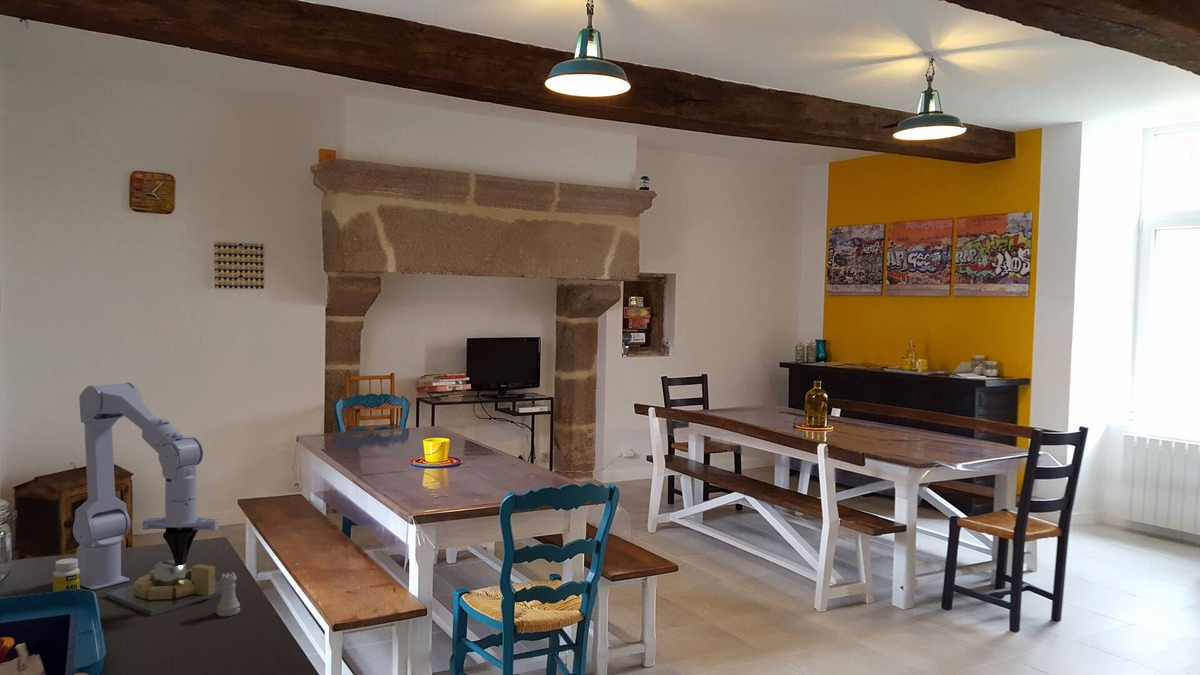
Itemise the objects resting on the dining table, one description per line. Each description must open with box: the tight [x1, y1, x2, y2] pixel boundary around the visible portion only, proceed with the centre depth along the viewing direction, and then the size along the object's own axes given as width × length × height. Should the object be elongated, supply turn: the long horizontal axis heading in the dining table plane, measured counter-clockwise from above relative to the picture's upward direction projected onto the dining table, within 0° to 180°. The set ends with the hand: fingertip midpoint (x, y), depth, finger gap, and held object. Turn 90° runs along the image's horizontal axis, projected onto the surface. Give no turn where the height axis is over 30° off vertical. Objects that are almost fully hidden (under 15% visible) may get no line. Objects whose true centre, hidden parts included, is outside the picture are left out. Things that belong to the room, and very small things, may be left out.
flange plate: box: [104, 559, 222, 617], centre depth 185 cm, size 18×18×7 cm
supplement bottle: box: [52, 557, 81, 592], centre depth 180 cm, size 5×5×8 cm
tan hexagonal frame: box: [132, 563, 216, 600], centre depth 184 cm, size 13×17×6 cm
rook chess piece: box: [216, 571, 241, 618], centre depth 175 cm, size 4×4×8 cm
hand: (180, 564), depth 178 cm, fingers closed
